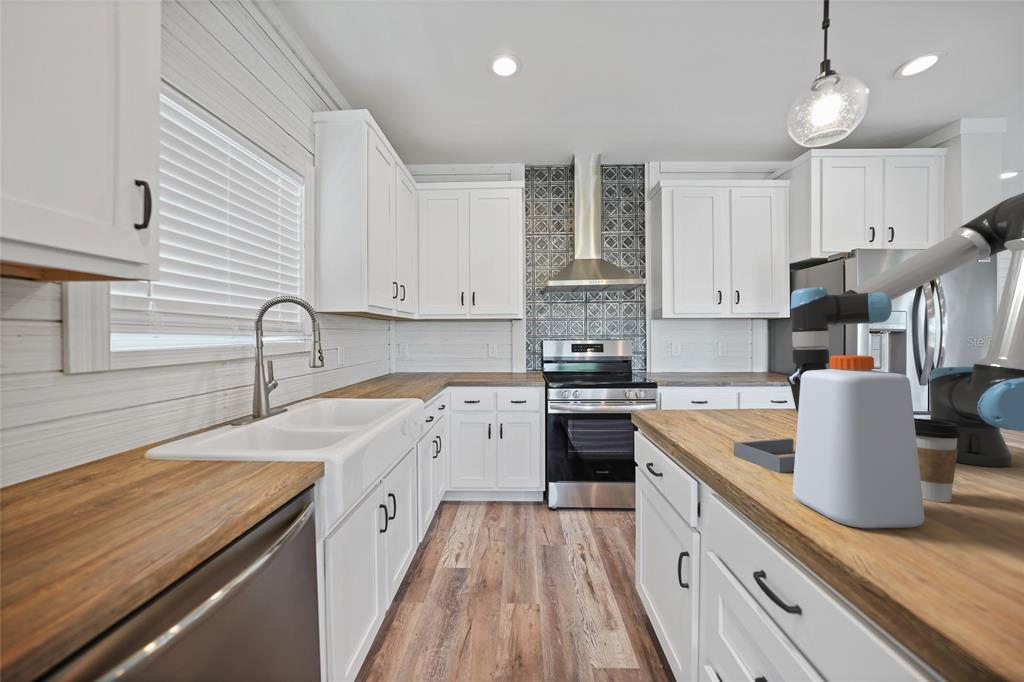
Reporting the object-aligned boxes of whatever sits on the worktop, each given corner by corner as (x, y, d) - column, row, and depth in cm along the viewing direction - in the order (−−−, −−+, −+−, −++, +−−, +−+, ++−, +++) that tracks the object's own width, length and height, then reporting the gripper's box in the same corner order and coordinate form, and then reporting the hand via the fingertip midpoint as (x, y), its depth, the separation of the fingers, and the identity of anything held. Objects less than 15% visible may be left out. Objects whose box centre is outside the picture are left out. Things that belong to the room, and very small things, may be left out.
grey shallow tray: (790, 450, 109) (790, 438, 109) (842, 466, 95) (842, 452, 95) (733, 455, 105) (733, 442, 105) (779, 473, 91) (779, 457, 91)
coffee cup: (887, 487, 82) (886, 415, 82) (933, 489, 81) (932, 415, 81) (923, 504, 74) (922, 423, 74) (975, 506, 72) (974, 424, 72)
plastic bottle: (940, 530, 64) (938, 357, 64) (847, 532, 64) (846, 358, 63) (857, 493, 79) (855, 353, 79) (782, 495, 79) (780, 354, 79)
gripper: (816, 347, 107) (819, 434, 107) (776, 349, 104) (779, 438, 104) (845, 347, 99) (848, 441, 99) (802, 349, 97) (806, 445, 97)
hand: (813, 440), depth 102 cm, fingers closed
